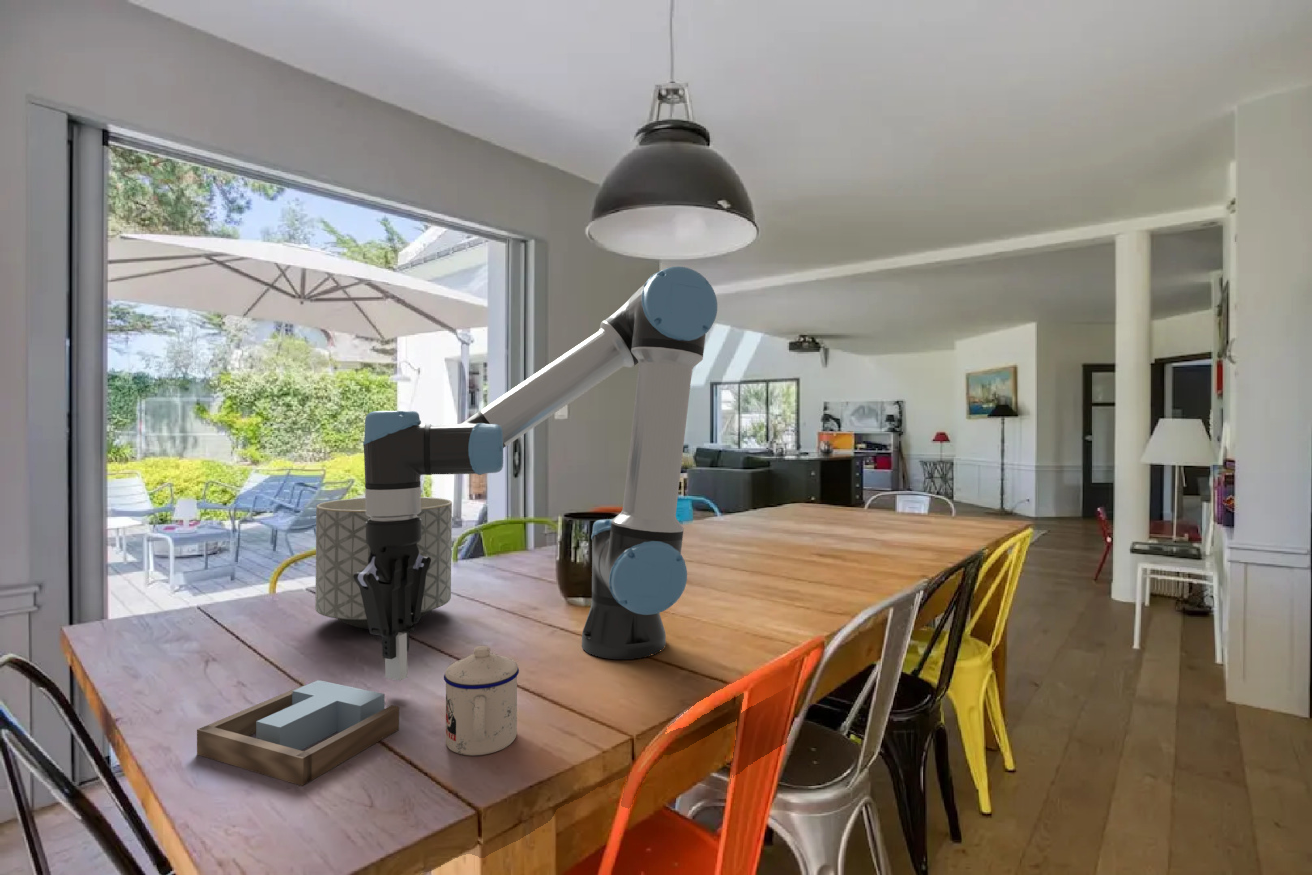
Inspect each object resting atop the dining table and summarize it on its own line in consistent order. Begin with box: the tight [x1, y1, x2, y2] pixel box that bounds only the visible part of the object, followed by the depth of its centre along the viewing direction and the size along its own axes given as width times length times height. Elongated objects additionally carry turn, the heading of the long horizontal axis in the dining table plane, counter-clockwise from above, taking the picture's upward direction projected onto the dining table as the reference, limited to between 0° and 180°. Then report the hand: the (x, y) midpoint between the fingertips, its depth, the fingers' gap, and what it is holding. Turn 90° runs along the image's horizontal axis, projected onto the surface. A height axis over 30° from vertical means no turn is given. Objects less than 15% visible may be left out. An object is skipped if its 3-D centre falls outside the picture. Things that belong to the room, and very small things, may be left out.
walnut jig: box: [196, 685, 400, 787], centre depth 80 cm, size 17×14×3 cm
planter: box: [314, 496, 453, 630], centre depth 129 cm, size 25×25×24 cm
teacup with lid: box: [443, 645, 520, 756], centre depth 80 cm, size 12×9×12 cm
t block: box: [255, 679, 386, 751], centre depth 82 cm, size 12×12×4 cm
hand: (396, 677), depth 94 cm, fingers closed
